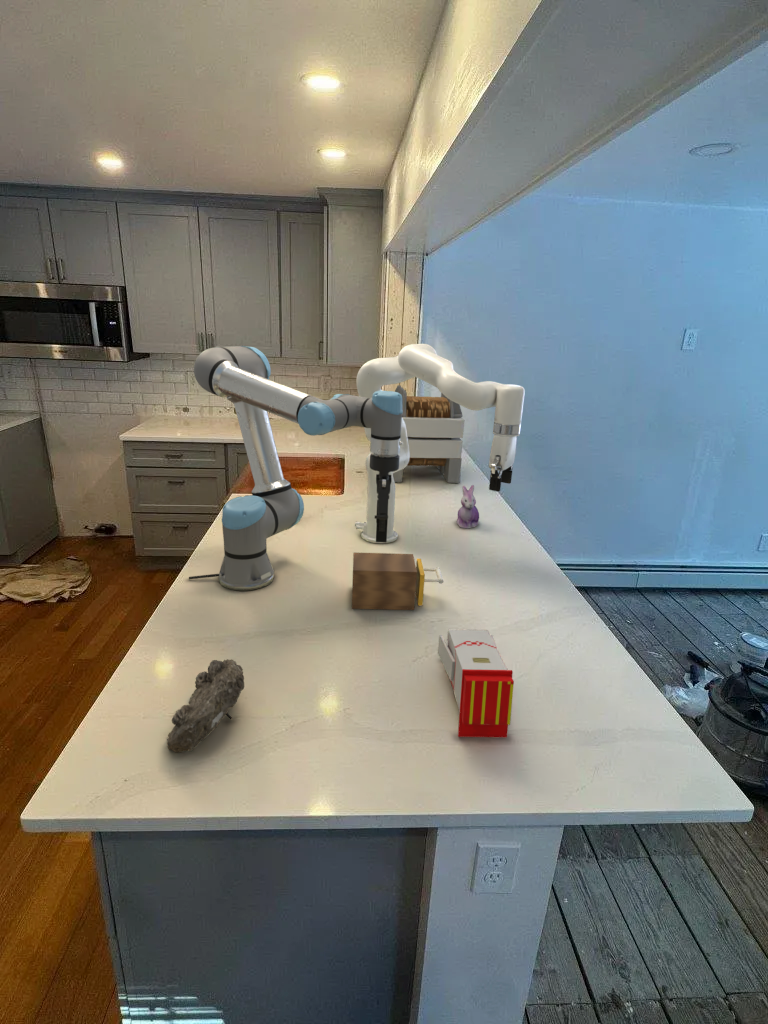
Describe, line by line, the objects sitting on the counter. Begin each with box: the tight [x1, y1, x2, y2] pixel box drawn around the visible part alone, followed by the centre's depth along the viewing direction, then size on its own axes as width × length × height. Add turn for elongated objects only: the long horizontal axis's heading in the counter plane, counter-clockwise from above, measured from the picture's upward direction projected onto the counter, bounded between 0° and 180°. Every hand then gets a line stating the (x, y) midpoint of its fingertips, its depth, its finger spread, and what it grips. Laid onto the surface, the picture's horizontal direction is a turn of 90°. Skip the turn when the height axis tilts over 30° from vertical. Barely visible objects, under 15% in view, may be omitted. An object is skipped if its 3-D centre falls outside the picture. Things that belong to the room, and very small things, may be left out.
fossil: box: [166, 658, 245, 754], centre depth 106 cm, size 22×10×15 cm
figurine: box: [456, 484, 480, 529], centre depth 209 cm, size 9×10×15 cm
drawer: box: [415, 558, 444, 606], centre depth 153 cm, size 20×10×9 cm, turn 92°
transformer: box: [393, 384, 465, 484], centre depth 268 cm, size 34×33×41 cm
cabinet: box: [351, 552, 417, 611], centre depth 153 cm, size 16×11×11 cm
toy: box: [437, 628, 515, 738], centre depth 117 cm, size 12×13×30 cm
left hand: (381, 531), depth 151 cm, fingers open, 13 cm apart
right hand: (500, 486), depth 167 cm, fingers open, 9 cm apart
